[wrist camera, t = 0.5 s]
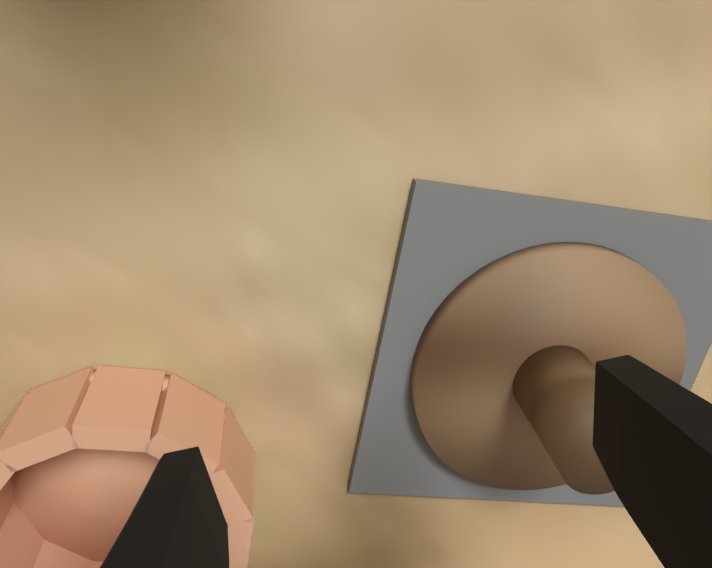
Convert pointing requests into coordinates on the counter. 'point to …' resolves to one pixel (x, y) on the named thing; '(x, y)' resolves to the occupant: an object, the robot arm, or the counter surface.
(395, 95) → the counter surface
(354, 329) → the counter surface
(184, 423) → the bowl
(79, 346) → the counter surface
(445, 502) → the counter surface
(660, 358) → the lid
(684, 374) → the mat
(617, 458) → the robot arm
